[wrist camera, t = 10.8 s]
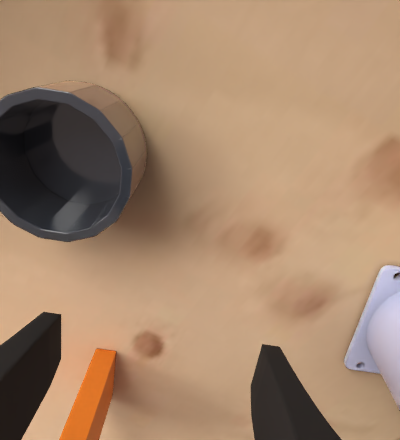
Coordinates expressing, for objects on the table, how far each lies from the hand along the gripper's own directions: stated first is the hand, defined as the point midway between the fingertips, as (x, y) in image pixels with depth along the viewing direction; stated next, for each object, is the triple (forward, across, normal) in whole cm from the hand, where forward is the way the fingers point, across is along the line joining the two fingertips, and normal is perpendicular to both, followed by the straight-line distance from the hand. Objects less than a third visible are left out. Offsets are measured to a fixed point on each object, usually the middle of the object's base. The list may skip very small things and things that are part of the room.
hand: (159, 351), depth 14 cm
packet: (+10, +4, +12) cm, 16 cm away
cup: (+10, +6, -4) cm, 12 cm away
